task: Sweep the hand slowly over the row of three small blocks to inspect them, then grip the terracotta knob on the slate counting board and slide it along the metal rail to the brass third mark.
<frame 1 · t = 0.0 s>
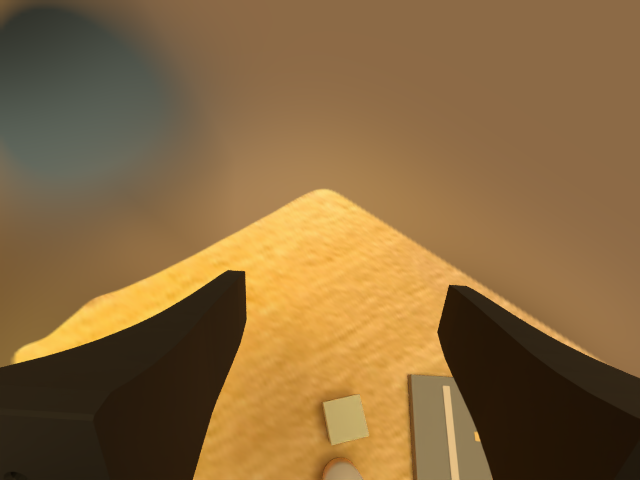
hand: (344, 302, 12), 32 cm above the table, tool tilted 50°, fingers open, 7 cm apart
grey cylinder: (340, 479, 36), on the table
sage block: (342, 417, 39), on the table
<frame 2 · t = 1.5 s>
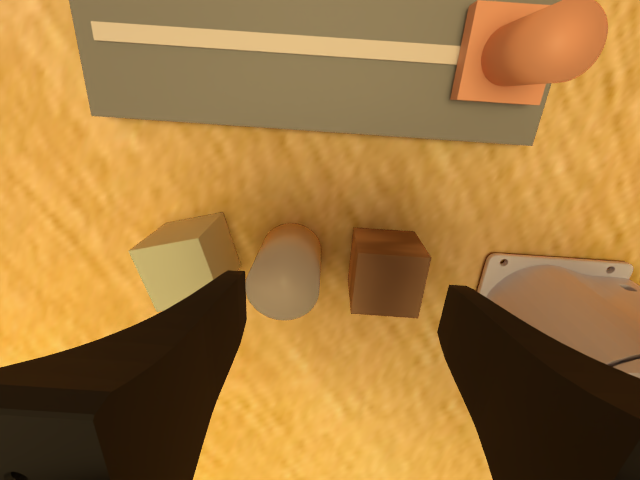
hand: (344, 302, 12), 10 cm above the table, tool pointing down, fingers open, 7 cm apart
counter slider: (528, 51, 14), point 4 cm above the table, slide at 0.0 cm
walnut block: (379, 256, 23), on the table
grey cylinder: (292, 250, 23), on the table
sage block: (204, 244, 23), on the table
slate counting board: (317, 50, 18), on the table
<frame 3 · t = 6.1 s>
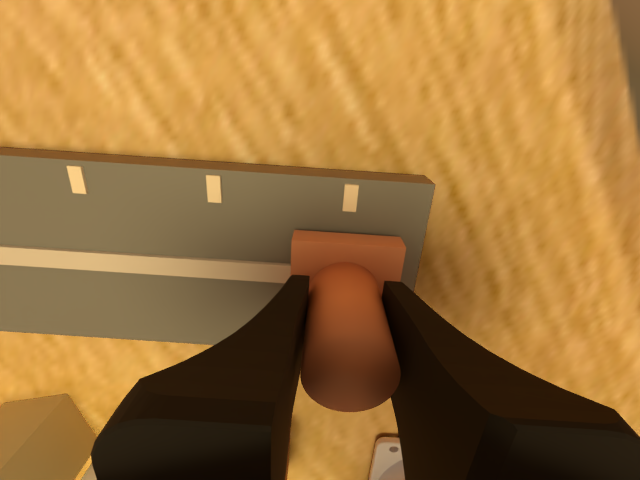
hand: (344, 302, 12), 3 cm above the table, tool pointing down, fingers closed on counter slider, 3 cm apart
counter slider: (345, 317, 11), point 4 cm above the table, slide at 0.0 cm, touching gripper
sage block: (54, 421, 20), on the table
slate counting board: (140, 246, 15), on the table
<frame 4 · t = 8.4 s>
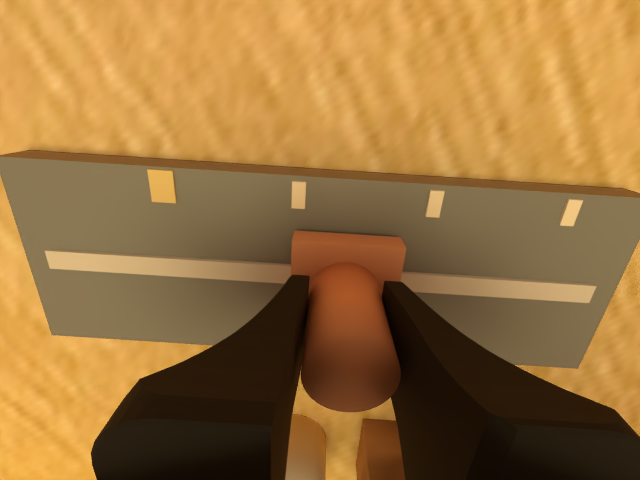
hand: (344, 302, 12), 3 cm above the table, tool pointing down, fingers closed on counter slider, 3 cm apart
counter slider: (345, 318, 11), point 4 cm above the table, slide at 8.1 cm, touching gripper
walnut block: (392, 443, 20), on the table
grey cylinder: (292, 438, 20), on the table
slate counting board: (321, 258, 15), on the table
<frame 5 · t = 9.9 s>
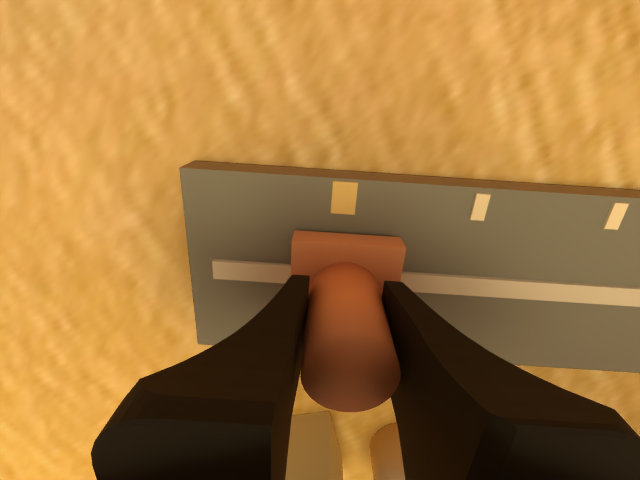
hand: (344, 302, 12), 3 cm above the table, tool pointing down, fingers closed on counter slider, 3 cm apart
counter slider: (345, 318, 11), point 4 cm above the table, slide at 14.8 cm, touching gripper
grey cylinder: (403, 445, 20), on the table
sage block: (302, 437, 20), on the table
slate counting board: (468, 268, 15), on the table
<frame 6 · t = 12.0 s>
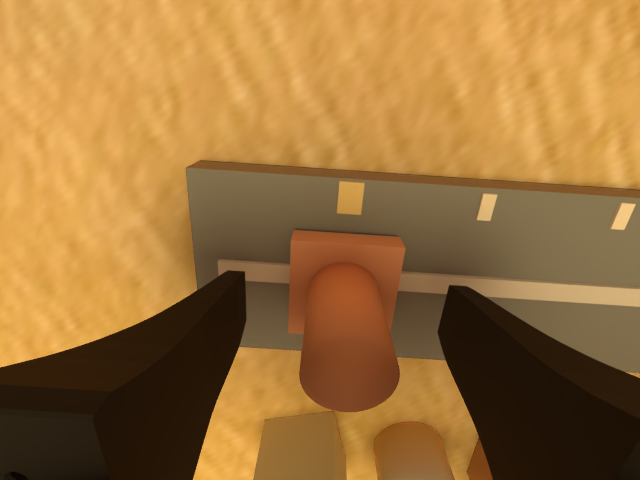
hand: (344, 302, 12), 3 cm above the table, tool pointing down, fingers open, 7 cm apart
counter slider: (344, 317, 11), point 4 cm above the table, slide at 15.0 cm
walnut block: (507, 450, 20), on the table
grey cylinder: (407, 445, 20), on the table
sage block: (306, 438, 20), on the table
slate counting board: (474, 268, 15), on the table
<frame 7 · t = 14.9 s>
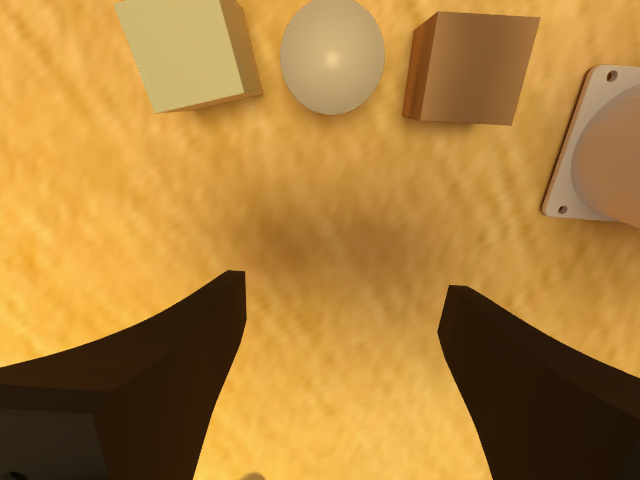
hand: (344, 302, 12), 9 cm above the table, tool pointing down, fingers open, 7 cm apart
walnut block: (445, 77, 17), on the table
grey cylinder: (331, 69, 17), on the table
sage block: (216, 61, 17), on the table
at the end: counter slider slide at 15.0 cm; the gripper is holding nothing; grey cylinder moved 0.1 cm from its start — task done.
